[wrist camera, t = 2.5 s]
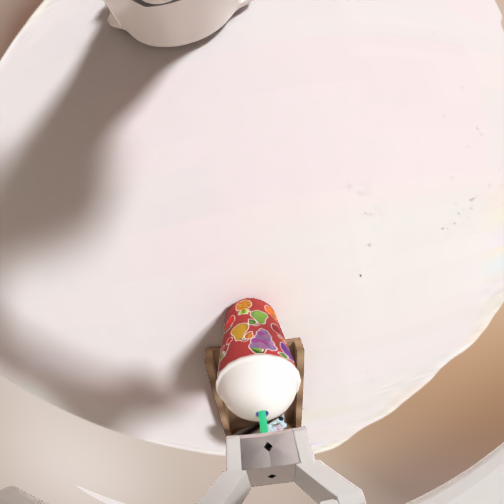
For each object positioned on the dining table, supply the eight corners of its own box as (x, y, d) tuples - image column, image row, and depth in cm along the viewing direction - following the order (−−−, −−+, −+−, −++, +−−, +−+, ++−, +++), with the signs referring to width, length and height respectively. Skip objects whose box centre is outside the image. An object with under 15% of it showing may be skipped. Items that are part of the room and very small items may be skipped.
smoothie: (220, 339, 39) (216, 460, 20) (218, 288, 36) (210, 410, 17) (277, 338, 39) (306, 454, 20) (282, 288, 37) (324, 404, 18)
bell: (294, 404, 45) (306, 456, 34) (269, 422, 47) (276, 472, 35) (253, 386, 43) (258, 443, 31) (229, 406, 44) (229, 460, 33)
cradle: (205, 348, 39) (204, 360, 36) (299, 337, 40) (304, 349, 37) (227, 429, 46) (227, 440, 43) (297, 420, 47) (300, 432, 44)
